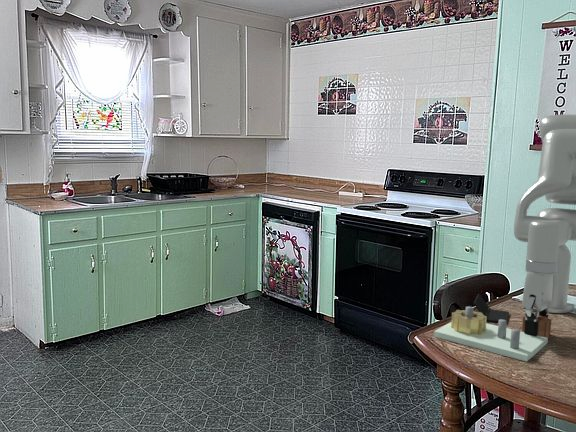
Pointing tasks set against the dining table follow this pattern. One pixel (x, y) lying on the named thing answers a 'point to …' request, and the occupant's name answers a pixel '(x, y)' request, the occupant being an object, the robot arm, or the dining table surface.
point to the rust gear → (541, 326)
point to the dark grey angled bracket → (489, 311)
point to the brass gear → (468, 322)
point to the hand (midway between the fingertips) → (535, 331)
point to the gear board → (496, 339)
